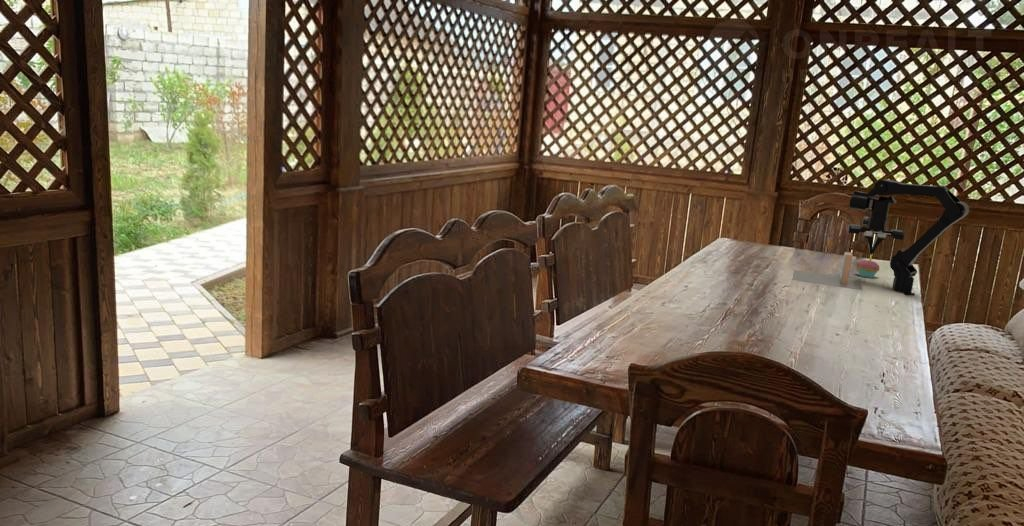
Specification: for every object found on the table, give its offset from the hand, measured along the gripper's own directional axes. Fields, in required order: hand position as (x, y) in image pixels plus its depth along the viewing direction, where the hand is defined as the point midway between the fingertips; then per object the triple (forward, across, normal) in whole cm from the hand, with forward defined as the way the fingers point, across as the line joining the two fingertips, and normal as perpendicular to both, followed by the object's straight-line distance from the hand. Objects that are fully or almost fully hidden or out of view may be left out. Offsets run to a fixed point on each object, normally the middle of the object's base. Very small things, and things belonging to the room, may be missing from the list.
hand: (870, 254), depth 277 cm
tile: (+11, +8, +4) cm, 14 cm away
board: (+12, +14, +4) cm, 19 cm away
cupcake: (+12, -2, -14) cm, 19 cm away
